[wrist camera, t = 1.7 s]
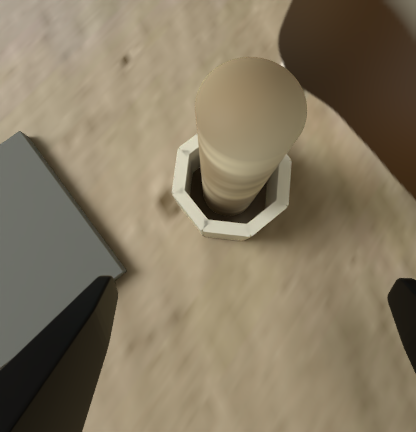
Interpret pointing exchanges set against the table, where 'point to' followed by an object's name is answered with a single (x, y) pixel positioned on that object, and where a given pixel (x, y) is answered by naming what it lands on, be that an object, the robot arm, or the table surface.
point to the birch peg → (245, 129)
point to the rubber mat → (41, 246)
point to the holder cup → (220, 229)
